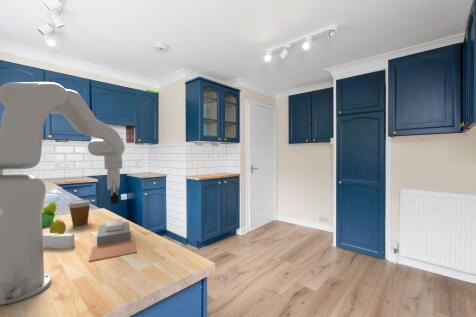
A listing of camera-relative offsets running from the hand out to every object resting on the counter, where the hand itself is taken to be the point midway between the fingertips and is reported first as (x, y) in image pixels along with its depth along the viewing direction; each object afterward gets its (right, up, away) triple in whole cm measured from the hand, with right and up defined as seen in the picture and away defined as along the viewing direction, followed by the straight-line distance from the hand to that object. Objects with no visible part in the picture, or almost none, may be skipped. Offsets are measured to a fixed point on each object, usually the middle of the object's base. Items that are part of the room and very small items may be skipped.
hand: (114, 203), depth 110 cm
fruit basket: (-41, -13, +9) cm, 44 cm away
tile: (+5, -9, -9) cm, 14 cm away
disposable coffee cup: (-22, -13, +7) cm, 27 cm away
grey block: (+6, -13, -11) cm, 18 cm away
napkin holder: (-12, -14, -19) cm, 27 cm away
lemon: (-19, -13, -10) cm, 26 cm away
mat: (+12, -13, -24) cm, 30 cm away
